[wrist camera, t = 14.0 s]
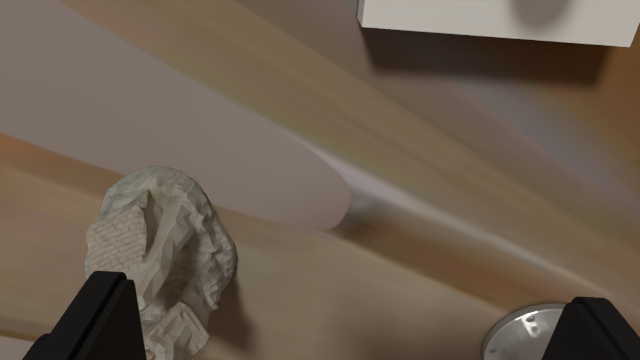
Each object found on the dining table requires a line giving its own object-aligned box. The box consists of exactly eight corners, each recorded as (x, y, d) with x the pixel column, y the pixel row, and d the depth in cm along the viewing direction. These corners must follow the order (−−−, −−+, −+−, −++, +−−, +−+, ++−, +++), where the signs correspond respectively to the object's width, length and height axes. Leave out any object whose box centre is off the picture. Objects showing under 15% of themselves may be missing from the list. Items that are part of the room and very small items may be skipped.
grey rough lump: (199, 156, 39) (126, 276, 26) (255, 291, 47) (221, 435, 34) (42, 186, 41) (-95, 309, 28) (121, 310, 49) (42, 450, 36)
